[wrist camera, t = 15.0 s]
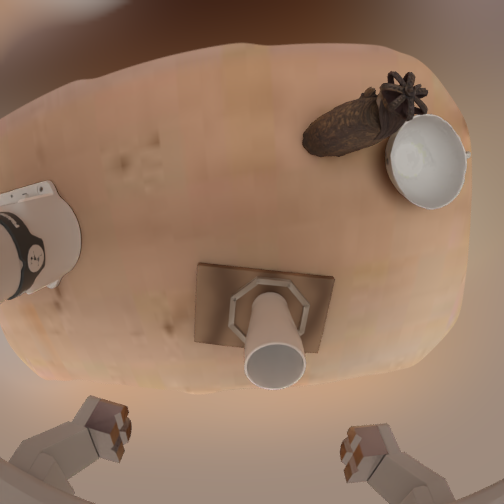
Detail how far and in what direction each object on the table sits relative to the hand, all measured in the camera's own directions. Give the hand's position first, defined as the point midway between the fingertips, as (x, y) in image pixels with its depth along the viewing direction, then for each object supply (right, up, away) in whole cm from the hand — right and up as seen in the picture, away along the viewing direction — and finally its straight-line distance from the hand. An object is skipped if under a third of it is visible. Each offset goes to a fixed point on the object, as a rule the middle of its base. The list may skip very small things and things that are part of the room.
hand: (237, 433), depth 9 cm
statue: (+12, +23, +30) cm, 40 cm away
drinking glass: (+3, -2, +36) cm, 36 cm away
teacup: (+25, +20, +31) cm, 44 cm away
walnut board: (+2, -2, +37) cm, 37 cm away
